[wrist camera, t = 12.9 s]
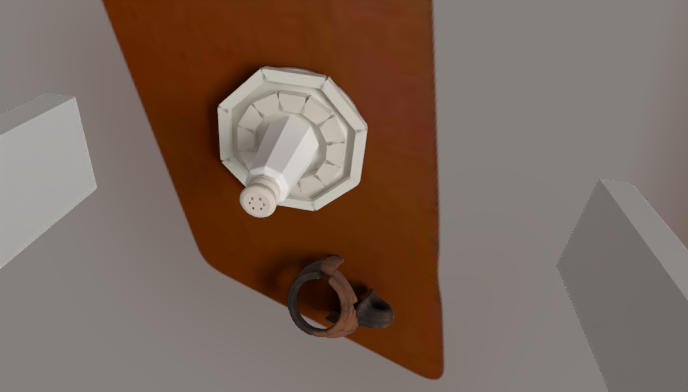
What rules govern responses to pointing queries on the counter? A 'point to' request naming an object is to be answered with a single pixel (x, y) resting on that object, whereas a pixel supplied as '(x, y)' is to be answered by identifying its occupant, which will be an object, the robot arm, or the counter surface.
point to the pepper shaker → (278, 165)
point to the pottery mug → (368, 310)
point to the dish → (308, 107)
